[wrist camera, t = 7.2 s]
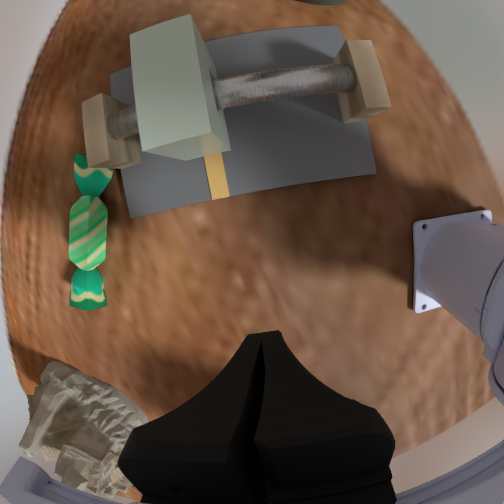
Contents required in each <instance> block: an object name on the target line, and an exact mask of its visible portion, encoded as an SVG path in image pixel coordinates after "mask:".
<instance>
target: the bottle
mask: <svg viewBox="0 0 504 504" xmlns="http://www.w3.org/2000/svg"><path fill="white" fill-rule="evenodd" d="M299 1H303V2H307V3H311V4H318V5H333V4H340V3H343V2H345V1H347V0H299Z"/></svg>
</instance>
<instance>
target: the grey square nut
mask: <svg viewBox="0 0 504 504" xmlns="http://www.w3.org/2000/svg"><path fill="white" fill-rule="evenodd" d="M130 50H131V64H132V76H133V86H134V96H135V104H136V112H137V120H138V127H139V134H140V141H141V147H142V151H143V152H148V153H153V154H157V155H162V156H166V157H171V158H175V159H180V160H184V161H187V160H191V159H195V158H199V157H203V156H208V155H212V154H217V153H221V152H226V151H231V147H230V142H229V136H228V131H227V126H226V121H225V116H224V110H223V109H221V110H217V108H216V103H215V98H214V92H213V87H212V82H211V81H214V80H218V79H217V74H216V69H215V65H214V62H213V60H212V58H211V56H210V54H209V51H208V49H207V47H206V45H205V43H204V41H203V38H202V36H201V34H200V32H199V30H198V28H197V26H196V24H195V22H194V20H193V17H192V15H191V14H188V15H185V16H181V17H178V18H175V19H171V20H168V21H165V22H162V23H159V24H156V25H153V26H151V27H148V28H145V29H143V30H140V31H138V32H135V33H133V34H130Z"/></svg>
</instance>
